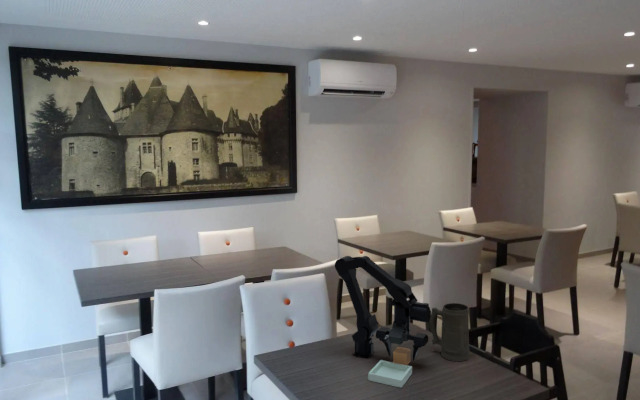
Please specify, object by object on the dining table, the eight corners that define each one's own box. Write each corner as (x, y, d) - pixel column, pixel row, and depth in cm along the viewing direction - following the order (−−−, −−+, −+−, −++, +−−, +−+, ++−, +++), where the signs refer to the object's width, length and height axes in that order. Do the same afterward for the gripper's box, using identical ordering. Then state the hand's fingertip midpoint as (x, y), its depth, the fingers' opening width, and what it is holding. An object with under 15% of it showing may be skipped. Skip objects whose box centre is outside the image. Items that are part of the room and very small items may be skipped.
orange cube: (393, 364, 178) (393, 351, 178) (397, 359, 183) (397, 346, 182) (406, 367, 176) (406, 354, 175) (410, 361, 180) (410, 349, 180)
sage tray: (368, 380, 166) (368, 373, 166) (380, 366, 176) (380, 360, 176) (401, 387, 160) (401, 380, 160) (412, 373, 171) (412, 366, 171)
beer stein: (472, 352, 188) (469, 302, 187) (471, 363, 178) (468, 310, 177) (432, 349, 193) (429, 301, 192) (429, 360, 183) (426, 309, 182)
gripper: (370, 320, 175) (370, 361, 176) (420, 328, 166) (419, 372, 168) (381, 311, 185) (381, 350, 186) (428, 319, 176) (428, 359, 178)
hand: (401, 358), depth 179 cm, fingers open, 9 cm apart
